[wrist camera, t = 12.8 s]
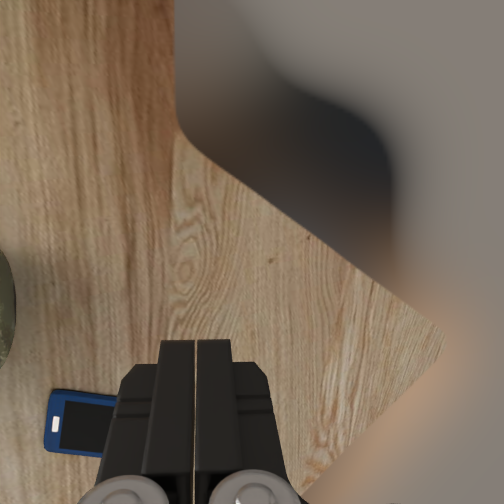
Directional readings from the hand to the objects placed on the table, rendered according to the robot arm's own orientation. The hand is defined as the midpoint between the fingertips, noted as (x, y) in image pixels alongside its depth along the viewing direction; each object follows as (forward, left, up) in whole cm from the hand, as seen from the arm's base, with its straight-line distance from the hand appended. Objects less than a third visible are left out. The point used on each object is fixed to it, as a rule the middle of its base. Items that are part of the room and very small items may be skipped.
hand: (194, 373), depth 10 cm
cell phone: (+28, -8, -29) cm, 41 cm away
